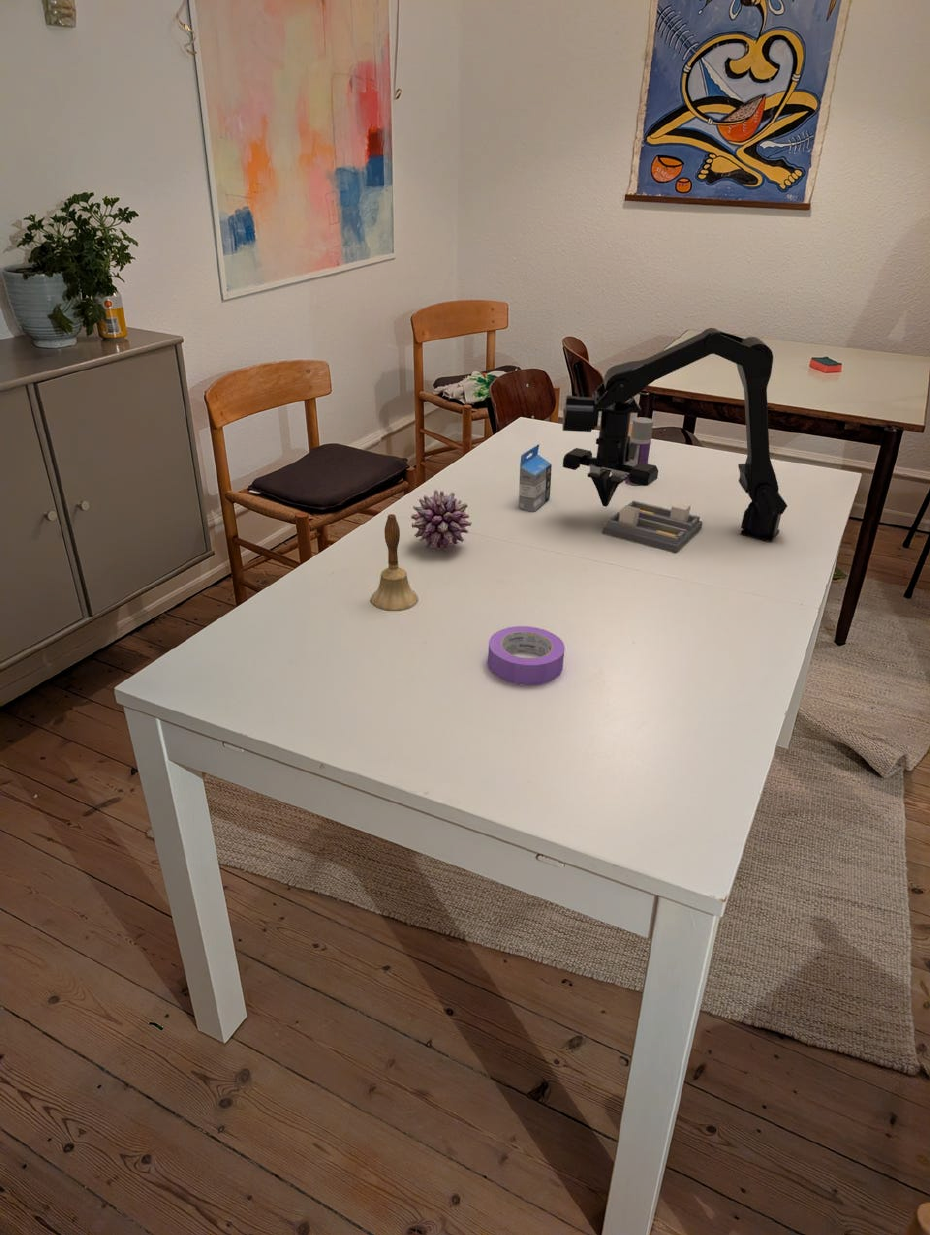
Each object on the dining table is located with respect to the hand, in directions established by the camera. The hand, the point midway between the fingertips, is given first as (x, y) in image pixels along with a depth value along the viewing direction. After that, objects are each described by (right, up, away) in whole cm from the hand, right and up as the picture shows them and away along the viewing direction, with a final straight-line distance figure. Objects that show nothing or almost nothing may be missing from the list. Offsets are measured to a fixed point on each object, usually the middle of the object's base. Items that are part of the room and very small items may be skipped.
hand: (605, 505), depth 181 cm
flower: (-34, -10, -9) cm, 36 cm away
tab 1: (+5, -4, -1) cm, 6 cm away
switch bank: (+10, -5, +1) cm, 11 cm away
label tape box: (-14, +2, +12) cm, 18 cm away
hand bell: (-42, -20, -28) cm, 54 cm away
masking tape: (-20, -31, -45) cm, 58 cm away
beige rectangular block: (+16, -3, +1) cm, 16 cm away
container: (+11, +9, +25) cm, 29 cm away
